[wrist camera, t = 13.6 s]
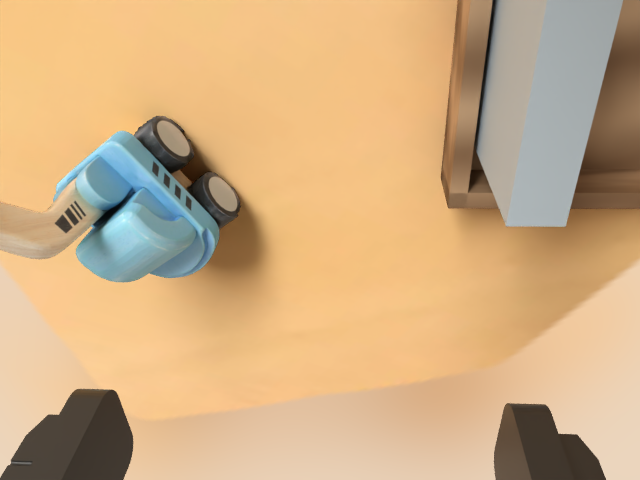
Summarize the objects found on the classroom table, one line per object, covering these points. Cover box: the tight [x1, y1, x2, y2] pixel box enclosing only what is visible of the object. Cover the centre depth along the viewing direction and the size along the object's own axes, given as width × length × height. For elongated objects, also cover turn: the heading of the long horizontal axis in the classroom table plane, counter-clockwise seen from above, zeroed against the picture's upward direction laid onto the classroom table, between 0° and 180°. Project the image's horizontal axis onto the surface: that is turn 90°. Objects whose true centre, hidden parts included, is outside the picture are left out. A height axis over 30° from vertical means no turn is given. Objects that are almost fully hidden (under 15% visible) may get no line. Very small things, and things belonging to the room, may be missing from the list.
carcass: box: [441, 0, 640, 209], centre depth 33 cm, size 20×14×5 cm
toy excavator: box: [0, 116, 241, 282], centre depth 35 cm, size 9×17×17 cm, turn 37°
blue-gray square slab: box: [474, 0, 623, 227], centre depth 30 cm, size 12×3×12 cm, turn 2°
